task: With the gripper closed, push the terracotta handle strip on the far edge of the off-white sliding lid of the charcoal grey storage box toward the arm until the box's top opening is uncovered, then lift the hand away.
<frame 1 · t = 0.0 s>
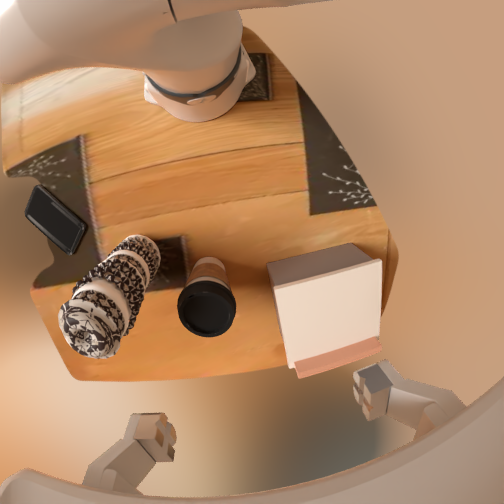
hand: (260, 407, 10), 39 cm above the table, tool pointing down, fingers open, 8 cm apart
storage box: (314, 289, 53), on the table
lid: (337, 322, 42), point 12 cm above the table, slide at 0.0 cm
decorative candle: (139, 256, 47), on the table
coffee cup: (209, 271, 50), on the table
phone: (55, 218, 43), on the table
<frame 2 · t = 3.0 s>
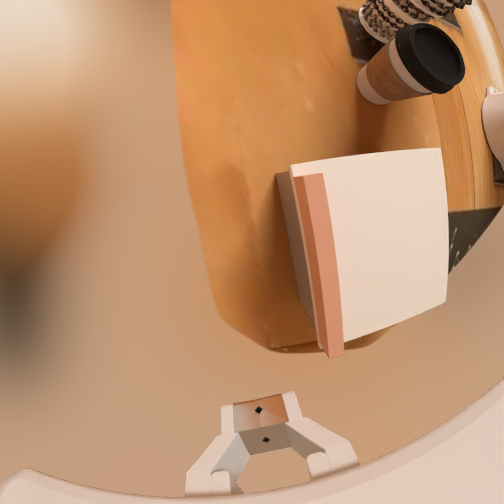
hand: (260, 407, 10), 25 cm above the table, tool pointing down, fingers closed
storage box: (345, 227, 34), on the table
lid: (396, 249, 23), point 12 cm above the table, slide at 0.0 cm
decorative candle: (380, 24, 27), on the table
coffee cup: (373, 86, 30), on the table
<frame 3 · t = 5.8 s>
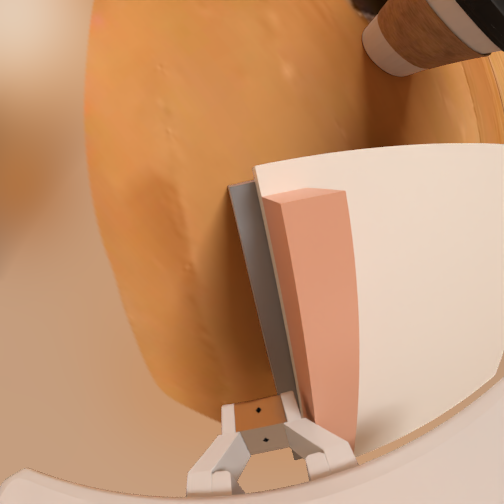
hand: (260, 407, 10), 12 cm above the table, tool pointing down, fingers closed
storage box: (347, 269, 22), on the table
lid: (461, 334, 10), point 12 cm above the table, slide at 1.4 cm, touching gripper
coffee cup: (388, 50, 17), on the table
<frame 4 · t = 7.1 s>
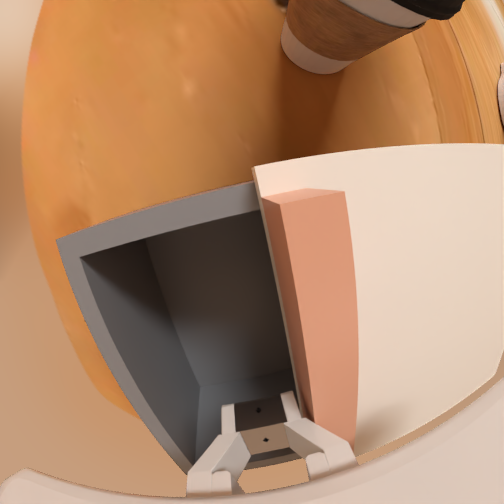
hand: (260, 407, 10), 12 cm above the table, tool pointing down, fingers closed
storage box: (257, 293, 21), on the table
lid: (460, 334, 10), point 12 cm above the table, slide at 9.0 cm, touching gripper
coffee cup: (315, 46, 17), on the table
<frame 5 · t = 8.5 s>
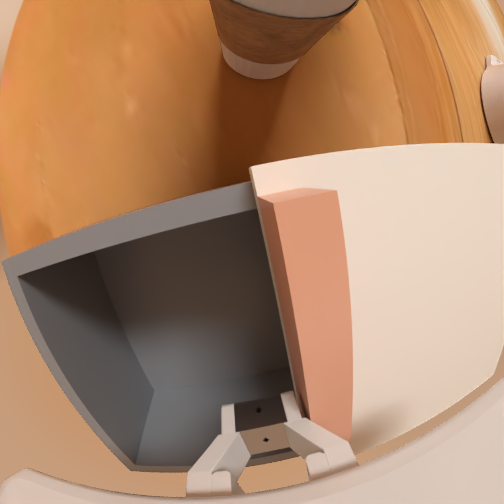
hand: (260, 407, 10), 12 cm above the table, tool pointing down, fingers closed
storage box: (200, 304, 21), on the table
lid: (457, 333, 10), point 12 cm above the table, slide at 13.6 cm, touching gripper
coffee cup: (259, 50, 17), on the table
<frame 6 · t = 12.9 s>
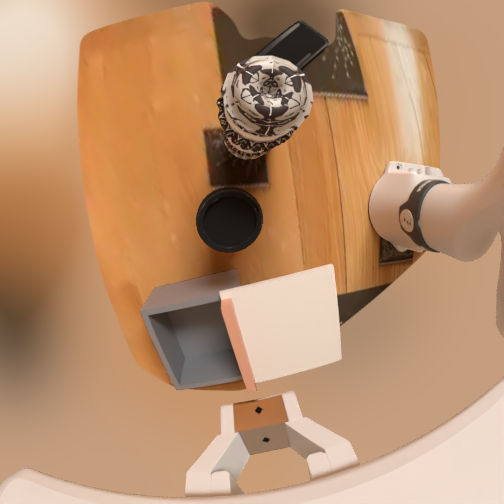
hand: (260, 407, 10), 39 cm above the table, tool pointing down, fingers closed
storage box: (207, 318, 51), on the table
lid: (289, 335, 40), point 12 cm above the table, slide at 13.6 cm
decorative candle: (247, 135, 44), on the table
coffee cup: (228, 210, 47), on the table
phone: (291, 51, 40), on the table
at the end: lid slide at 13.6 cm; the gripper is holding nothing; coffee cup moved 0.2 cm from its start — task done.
